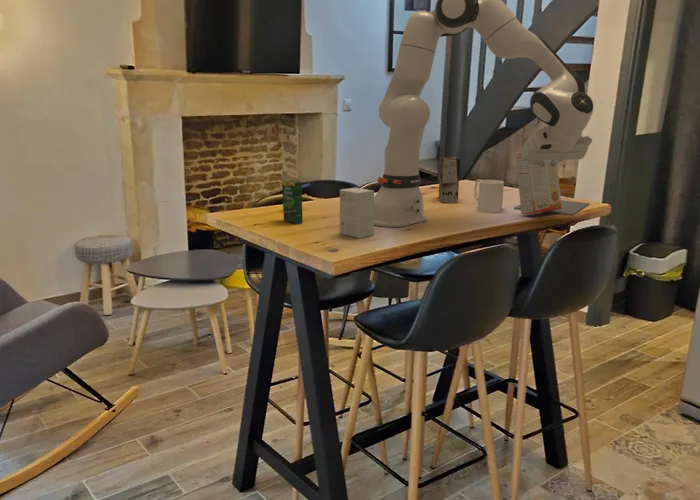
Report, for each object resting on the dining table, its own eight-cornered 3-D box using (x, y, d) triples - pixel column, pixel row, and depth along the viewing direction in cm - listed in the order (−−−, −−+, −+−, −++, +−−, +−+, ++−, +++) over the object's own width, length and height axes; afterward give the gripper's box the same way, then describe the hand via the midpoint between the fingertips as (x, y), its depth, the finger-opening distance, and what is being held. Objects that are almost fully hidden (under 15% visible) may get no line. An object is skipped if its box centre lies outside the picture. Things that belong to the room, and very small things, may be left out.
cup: (482, 205, 223) (483, 177, 220) (506, 211, 213) (508, 182, 210) (465, 207, 218) (466, 179, 216) (489, 213, 209) (491, 184, 206)
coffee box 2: (458, 203, 227) (460, 159, 223) (441, 202, 227) (442, 158, 223) (454, 198, 236) (456, 156, 232) (438, 198, 236) (439, 156, 232)
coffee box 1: (282, 220, 197) (281, 179, 194) (290, 219, 199) (289, 178, 195) (295, 224, 191) (294, 182, 187) (303, 223, 192) (302, 181, 189)
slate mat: (572, 215, 206) (572, 214, 205) (513, 209, 216) (514, 207, 216) (589, 204, 225) (589, 203, 225) (534, 199, 236) (535, 197, 235)
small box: (374, 235, 178) (374, 190, 174) (358, 238, 174) (358, 192, 170) (355, 230, 184) (355, 187, 180) (339, 233, 179) (339, 189, 176)
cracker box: (547, 210, 212) (542, 149, 211) (562, 209, 207) (557, 146, 206) (519, 214, 205) (514, 151, 203) (533, 213, 200) (528, 148, 198)
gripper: (591, 128, 192) (574, 156, 204) (528, 129, 190) (514, 157, 202) (597, 144, 189) (579, 172, 201) (533, 146, 187) (518, 173, 199)
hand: (546, 165), depth 202 cm, fingers open, 3 cm apart
